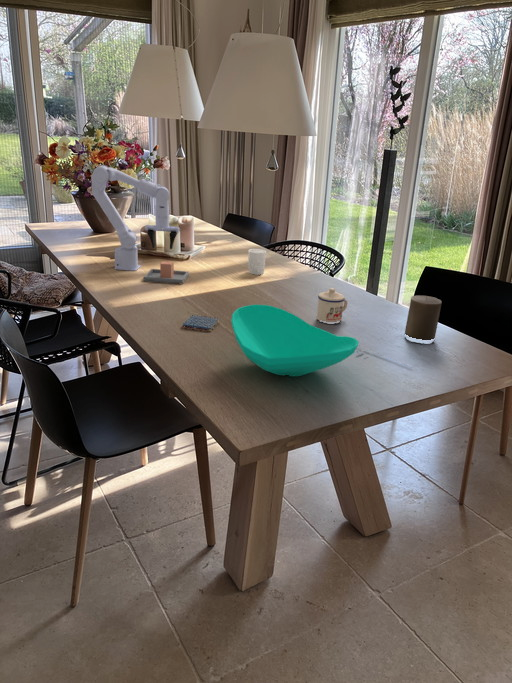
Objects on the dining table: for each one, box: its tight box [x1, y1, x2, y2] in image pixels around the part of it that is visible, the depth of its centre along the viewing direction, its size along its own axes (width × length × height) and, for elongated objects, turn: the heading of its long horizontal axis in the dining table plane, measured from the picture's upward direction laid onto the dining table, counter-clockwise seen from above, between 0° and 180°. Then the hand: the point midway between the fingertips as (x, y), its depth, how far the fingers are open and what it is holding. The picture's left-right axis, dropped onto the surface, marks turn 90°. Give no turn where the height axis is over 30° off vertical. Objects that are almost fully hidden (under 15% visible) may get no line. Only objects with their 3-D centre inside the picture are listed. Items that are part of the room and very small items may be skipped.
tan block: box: [159, 260, 175, 278], centre depth 231 cm, size 4×4×6 cm
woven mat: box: [181, 314, 220, 333], centre depth 183 cm, size 10×11×2 cm
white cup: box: [247, 248, 267, 276], centre depth 246 cm, size 8×8×10 cm
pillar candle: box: [404, 295, 442, 340], centre depth 180 cm, size 10×10×15 cm
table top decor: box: [231, 304, 360, 377], centre depth 152 cm, size 40×28×13 cm
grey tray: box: [143, 268, 190, 285], centre depth 232 cm, size 16×13×2 cm
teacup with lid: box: [316, 287, 348, 322], centre depth 193 cm, size 12×9×12 cm
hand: (162, 247), depth 242 cm, fingers open, 7 cm apart
